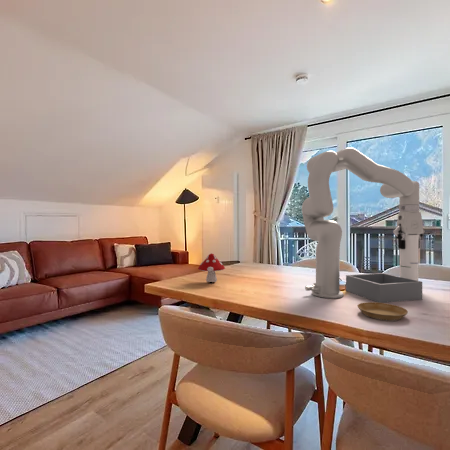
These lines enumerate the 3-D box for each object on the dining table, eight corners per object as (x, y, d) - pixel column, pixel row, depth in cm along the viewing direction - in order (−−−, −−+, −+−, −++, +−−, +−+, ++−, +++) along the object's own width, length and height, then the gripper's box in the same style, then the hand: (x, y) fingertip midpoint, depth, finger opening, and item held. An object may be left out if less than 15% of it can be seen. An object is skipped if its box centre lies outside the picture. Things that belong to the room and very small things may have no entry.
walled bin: (379, 302, 111) (379, 284, 111) (346, 290, 130) (346, 275, 130) (422, 299, 116) (422, 281, 116) (383, 288, 135) (383, 273, 135)
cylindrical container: (421, 292, 127) (421, 235, 127) (403, 291, 129) (403, 234, 128) (414, 288, 134) (414, 234, 134) (397, 287, 136) (397, 234, 135)
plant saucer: (348, 310, 103) (348, 303, 102) (383, 307, 106) (383, 300, 106) (379, 325, 88) (379, 316, 88) (419, 321, 91) (419, 313, 91)
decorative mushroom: (222, 286, 140) (222, 255, 140) (194, 285, 142) (194, 254, 142) (226, 280, 154) (226, 252, 154) (201, 279, 156) (201, 251, 156)
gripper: (400, 208, 125) (399, 250, 125) (432, 208, 129) (432, 248, 130) (386, 209, 132) (386, 248, 133) (417, 209, 137) (417, 247, 137)
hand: (409, 248), depth 131 cm, fingers closed on cylindrical container, 7 cm apart
